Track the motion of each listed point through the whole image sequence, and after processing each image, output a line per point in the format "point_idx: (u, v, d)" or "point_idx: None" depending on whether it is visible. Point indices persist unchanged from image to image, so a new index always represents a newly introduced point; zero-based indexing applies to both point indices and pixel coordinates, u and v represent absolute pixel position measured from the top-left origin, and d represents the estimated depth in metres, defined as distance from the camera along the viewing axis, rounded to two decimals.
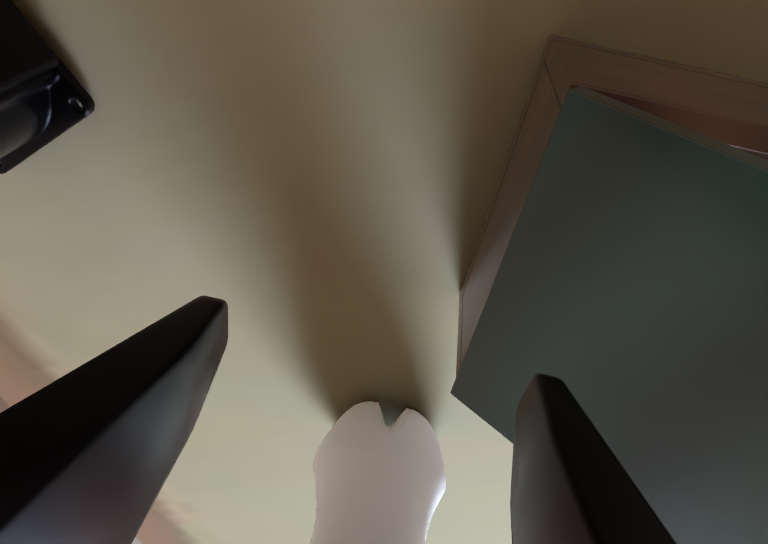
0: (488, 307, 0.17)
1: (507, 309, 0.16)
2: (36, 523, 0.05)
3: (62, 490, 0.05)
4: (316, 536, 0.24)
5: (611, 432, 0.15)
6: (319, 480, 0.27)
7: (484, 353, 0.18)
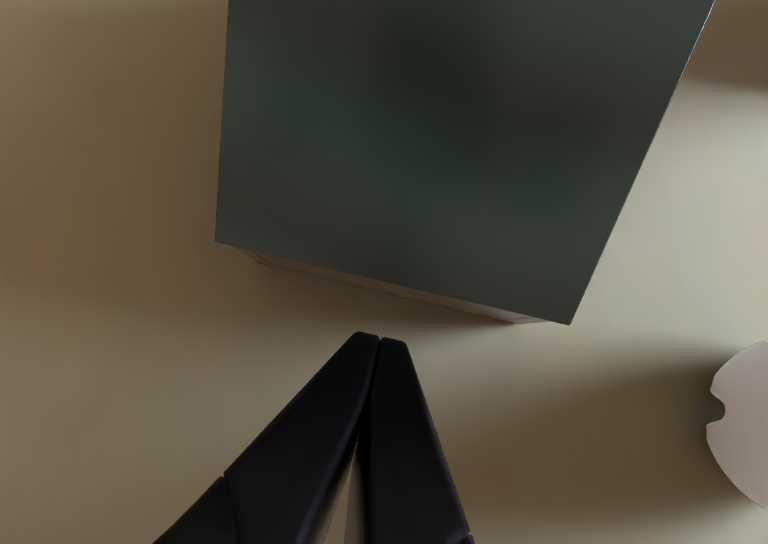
0: (432, 289, 0.16)
1: (426, 270, 0.16)
2: None
3: None
4: None
5: (522, 145, 0.14)
6: None
7: (491, 289, 0.16)
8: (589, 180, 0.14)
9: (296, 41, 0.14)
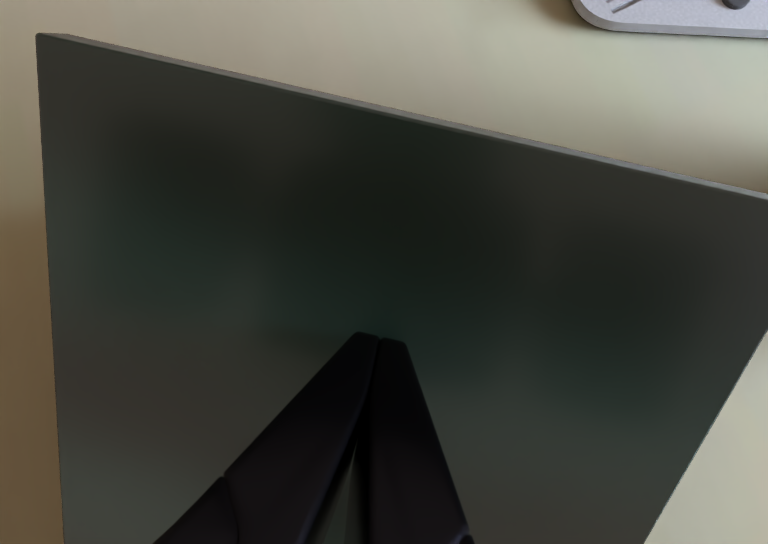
0: None
1: None
2: None
3: None
4: None
5: None
6: None
7: None
8: None
9: (148, 453, 0.10)
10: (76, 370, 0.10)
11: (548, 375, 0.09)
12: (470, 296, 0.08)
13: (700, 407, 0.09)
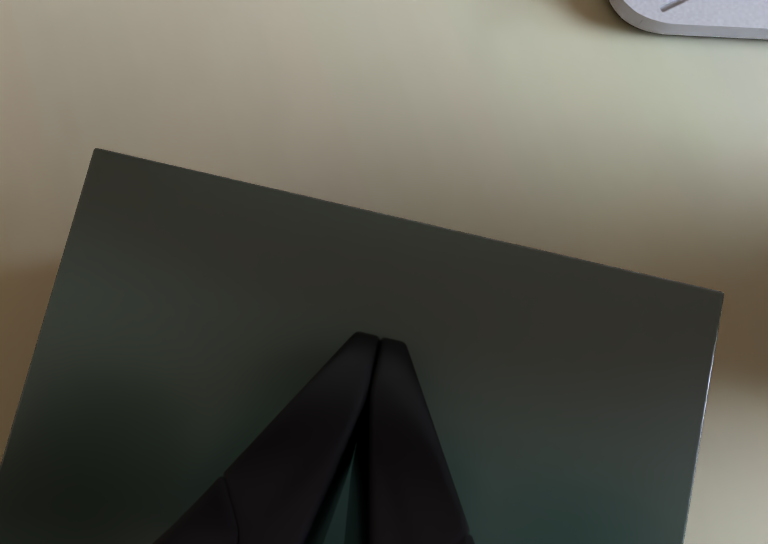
0: None
1: None
2: None
3: None
4: None
5: None
6: None
7: None
8: None
9: None
10: (24, 474, 0.09)
11: (525, 456, 0.09)
12: (446, 370, 0.09)
13: (672, 485, 0.09)
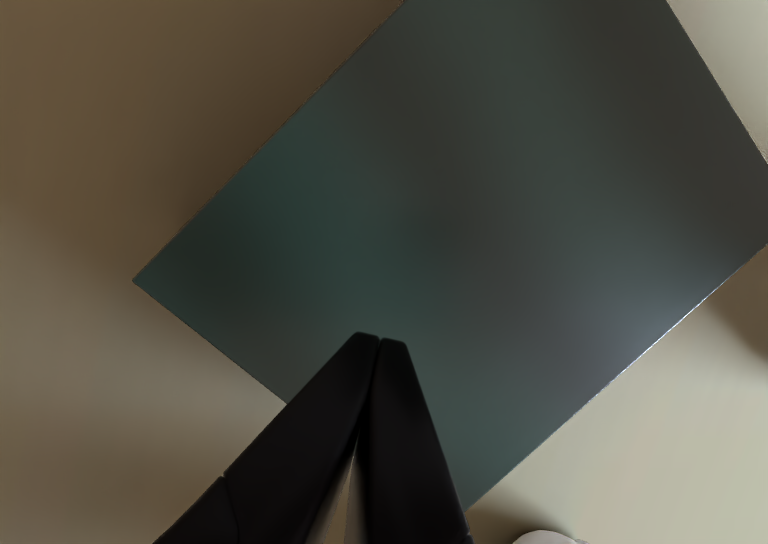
0: None
1: None
2: None
3: None
4: None
5: (505, 351, 0.14)
6: None
7: None
8: (534, 407, 0.15)
9: (378, 147, 0.12)
10: (386, 49, 0.12)
11: (649, 232, 0.14)
12: (649, 159, 0.13)
13: (698, 293, 0.15)
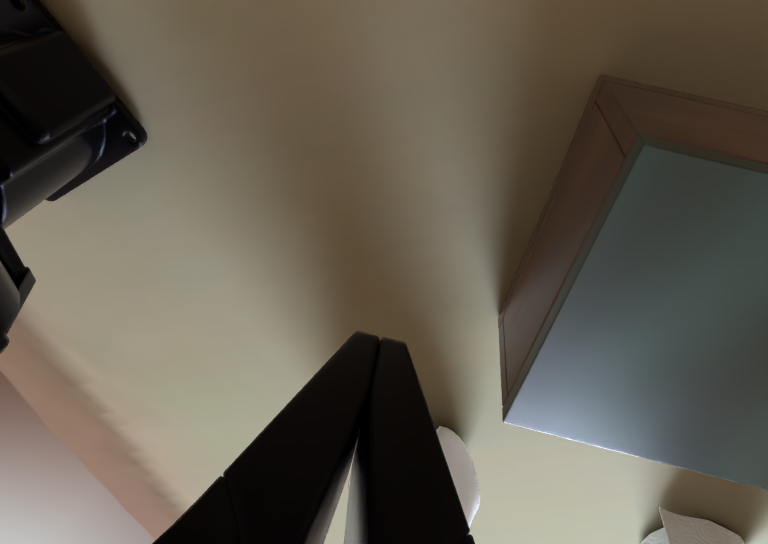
0: (548, 341, 0.17)
1: (570, 339, 0.17)
2: None
3: None
4: None
5: (676, 402, 0.18)
6: None
7: (544, 379, 0.18)
8: (634, 434, 0.19)
9: None
10: None
11: None
12: None
13: None
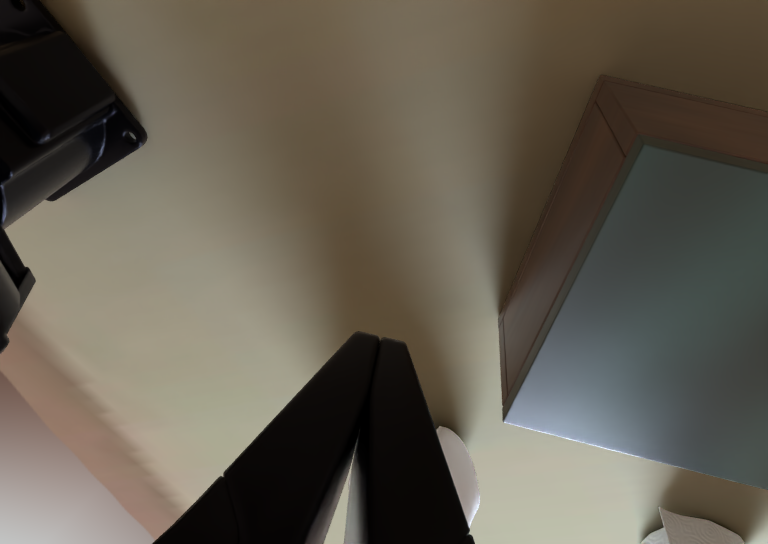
0: (548, 341, 0.17)
1: (570, 339, 0.17)
2: None
3: None
4: None
5: (676, 402, 0.18)
6: None
7: (544, 379, 0.18)
8: (634, 434, 0.19)
9: None
10: None
11: None
12: None
13: None
